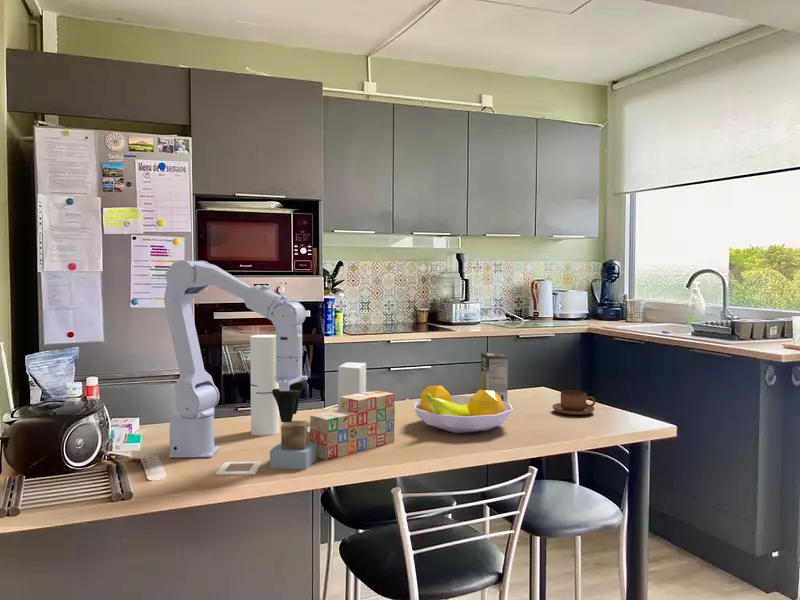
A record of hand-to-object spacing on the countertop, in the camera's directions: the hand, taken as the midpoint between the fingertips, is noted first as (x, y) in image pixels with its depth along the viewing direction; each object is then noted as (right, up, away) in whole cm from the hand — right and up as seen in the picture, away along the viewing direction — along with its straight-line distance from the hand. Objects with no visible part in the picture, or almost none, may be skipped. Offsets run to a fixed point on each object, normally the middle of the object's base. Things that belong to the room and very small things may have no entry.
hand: (289, 417), depth 143 cm
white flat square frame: (-9, -10, -6) cm, 15 cm away
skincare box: (+11, -8, +40) cm, 42 cm away
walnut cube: (+2, -6, -1) cm, 6 cm away
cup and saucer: (+76, -8, +49) cm, 90 cm away
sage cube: (+2, -9, +9) cm, 13 cm away
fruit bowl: (+40, -8, +31) cm, 51 cm away
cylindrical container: (-10, -9, +25) cm, 29 cm away
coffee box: (+54, -7, +58) cm, 79 cm away
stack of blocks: (+14, -9, +10) cm, 19 cm away
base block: (+1, -10, -1) cm, 10 cm away
